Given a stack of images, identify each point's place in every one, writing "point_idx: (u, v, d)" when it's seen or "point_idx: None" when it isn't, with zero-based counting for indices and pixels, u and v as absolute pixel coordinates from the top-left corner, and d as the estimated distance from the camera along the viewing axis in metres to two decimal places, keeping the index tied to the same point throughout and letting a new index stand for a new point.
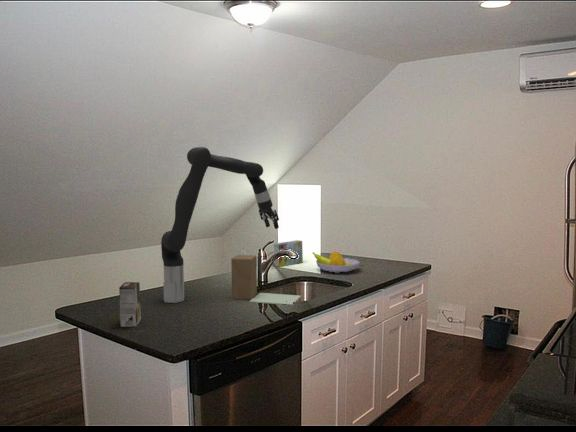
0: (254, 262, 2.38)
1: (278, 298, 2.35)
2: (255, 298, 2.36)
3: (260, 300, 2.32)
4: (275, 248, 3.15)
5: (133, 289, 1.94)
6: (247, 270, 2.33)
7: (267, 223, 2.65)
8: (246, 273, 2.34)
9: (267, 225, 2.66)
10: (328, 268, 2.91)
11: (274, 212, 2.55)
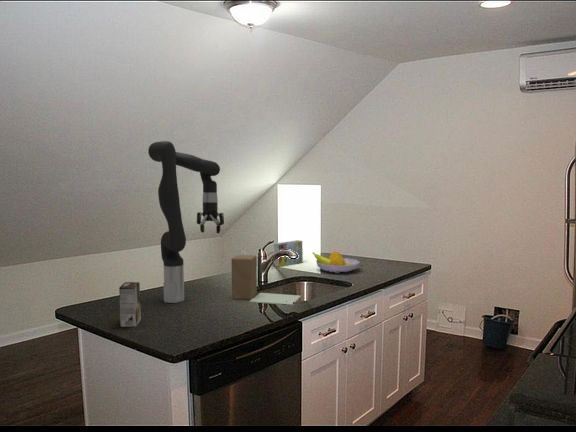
0: (254, 262, 2.38)
1: (278, 298, 2.35)
2: (255, 298, 2.36)
3: (260, 300, 2.32)
4: (275, 248, 3.15)
5: (133, 289, 1.94)
6: (247, 269, 2.33)
7: (203, 228, 2.53)
8: (246, 273, 2.34)
9: (203, 230, 2.53)
10: (328, 268, 2.91)
11: (222, 215, 2.49)
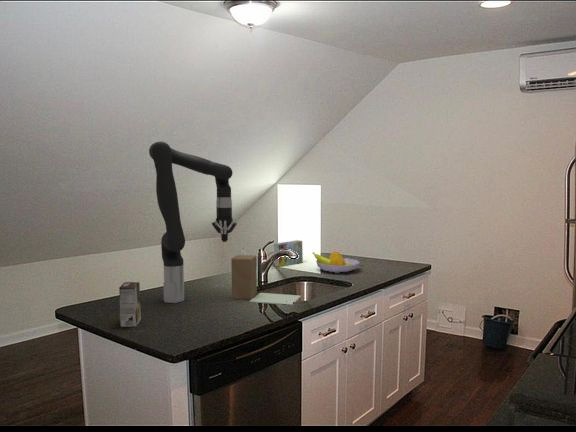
0: (254, 262, 2.38)
1: (278, 298, 2.35)
2: (255, 298, 2.36)
3: (260, 300, 2.32)
4: (275, 248, 3.15)
5: (133, 289, 1.94)
6: (247, 269, 2.33)
7: None
8: (246, 273, 2.34)
9: None
10: (328, 268, 2.91)
11: (235, 225, 2.38)
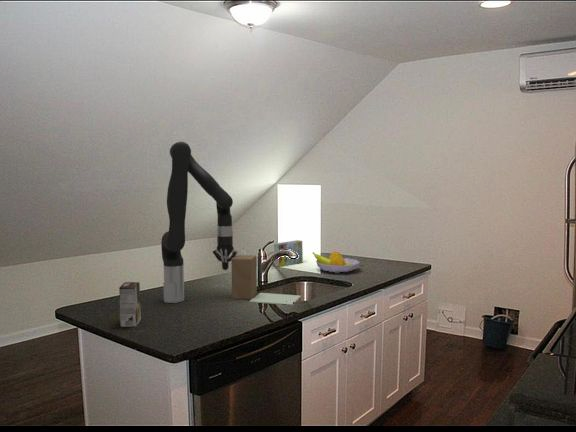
0: (254, 262, 2.38)
1: (278, 298, 2.35)
2: (255, 298, 2.36)
3: (260, 300, 2.32)
4: (275, 248, 3.15)
5: (133, 289, 1.94)
6: (247, 269, 2.33)
7: None
8: (246, 273, 2.34)
9: None
10: (328, 268, 2.91)
11: None
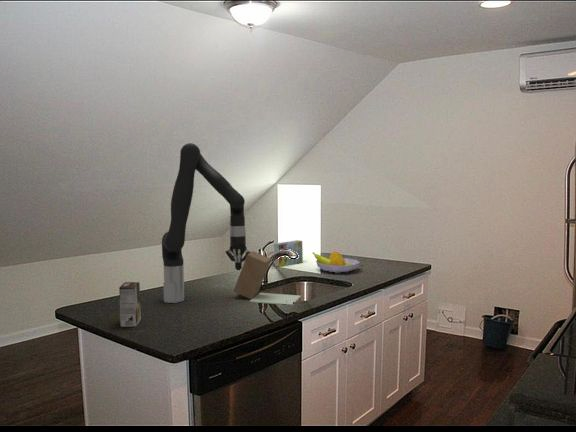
0: (266, 265, 2.37)
1: (278, 298, 2.35)
2: (255, 298, 2.36)
3: (260, 300, 2.32)
4: (275, 248, 3.15)
5: (133, 289, 1.94)
6: (258, 271, 2.32)
7: None
8: (256, 273, 2.33)
9: None
10: (328, 268, 2.91)
11: None
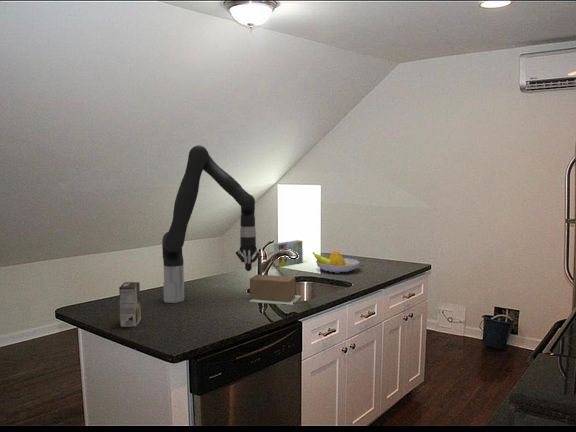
0: None
1: None
2: None
3: (260, 300, 2.32)
4: (275, 248, 3.15)
5: (133, 289, 1.94)
6: (278, 297, 2.30)
7: None
8: (275, 295, 2.30)
9: None
10: (328, 268, 2.91)
11: (259, 255, 2.36)
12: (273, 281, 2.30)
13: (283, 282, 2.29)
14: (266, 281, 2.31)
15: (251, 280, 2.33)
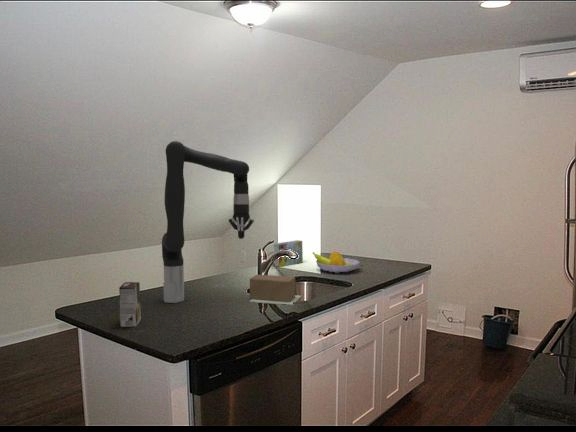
0: None
1: None
2: None
3: (260, 300, 2.32)
4: (275, 248, 3.15)
5: (133, 289, 1.94)
6: (278, 297, 2.30)
7: None
8: (275, 295, 2.30)
9: None
10: (328, 268, 2.91)
11: (252, 222, 2.36)
12: (273, 281, 2.30)
13: (283, 282, 2.29)
14: (266, 281, 2.31)
15: (251, 280, 2.33)
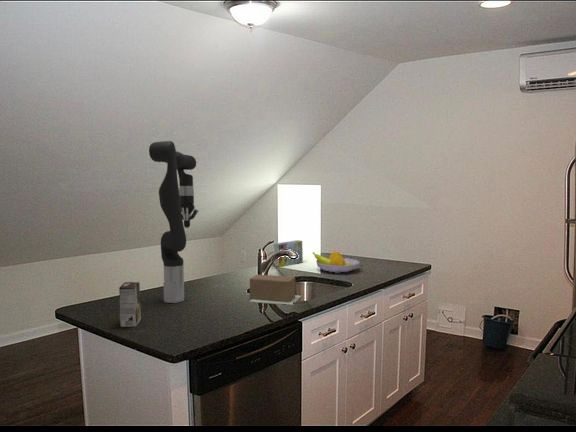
0: None
1: None
2: None
3: (260, 300, 2.32)
4: (275, 248, 3.15)
5: (133, 289, 1.94)
6: (278, 297, 2.30)
7: None
8: (275, 295, 2.30)
9: None
10: (328, 268, 2.91)
11: (196, 212, 2.55)
12: (273, 281, 2.30)
13: (283, 282, 2.29)
14: (266, 281, 2.31)
15: (251, 280, 2.33)
